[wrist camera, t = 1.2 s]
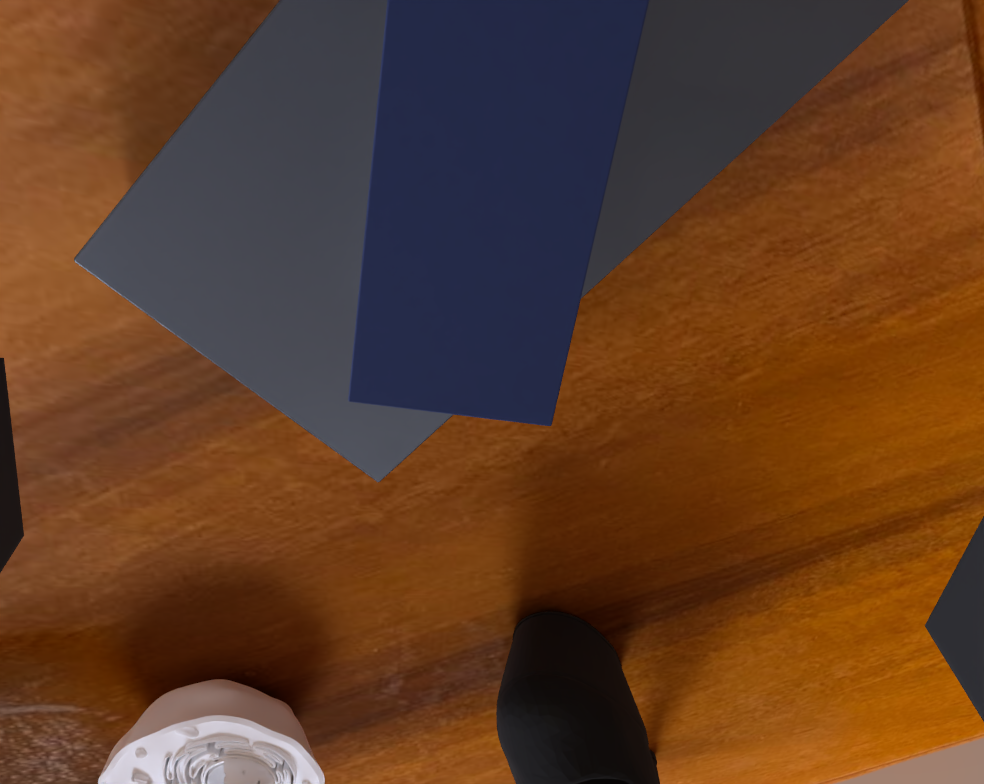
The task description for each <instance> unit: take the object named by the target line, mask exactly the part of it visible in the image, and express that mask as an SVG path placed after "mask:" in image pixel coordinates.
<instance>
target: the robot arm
mask: <svg viewBox="0 0 984 784" xmlns="http://www.w3.org/2000/svg"><path fill="white" fill-rule="evenodd" d="M23 536H24V532H23V523H22V514H21V505H20V496H19V488H18V479H17V470H16V461H15V452H14V443H13V434H12V426H11V417H10V408H9V399H8V390H7V381H6V373H5V364H4V358H0V572H1V571H2V569H3V568H4V566H5V565H6V563H7V561H8V560H9V558H10V557H11V555H12V554H13V552H14V550H15V549H16V547H17V546H18V544H19V543H20V541H21V539H22V538H23ZM925 627H926V629H927V630H928V632H929V633H930V635H931V637H932V638H933V640H934V642H935V643H936V645H937V646H938V648H939V650H940V651H941V653H942V655H943V656H944V658H945V659H946V661H947V663H948V664H949V666H950V668H951V669H952V671H953V672H954V674H955V676H956V677H957V679H958V681H959V682H960V684H961V685H962V687H963V689H964V690H965V692H966V694H967V695H968V697H969V698H970V700H971V702H972V703H973V705H974V707H975V708H976V710H977V711H978V713H979V715H980V716H981V718H982V720H983V721H984V517H983V519H982V521H981V522H980V524H979V526H978V528H977V530H976V532H975V534H974V535H973V537H972V539H971V541H970V543H969V545H968V547H967V548H966V550H965V552H964V554H963V556H962V558H961V560H960V561H959V563H958V565H957V567H956V569H955V571H954V573H953V574H952V576H951V578H950V580H949V582H948V584H947V586H946V587H945V589H944V591H943V593H942V595H941V597H940V598H939V600H938V602H937V604H936V606H935V608H934V610H933V611H932V613H931V615H930V617H929V619H928V621H927V623H926V624H925Z"/></svg>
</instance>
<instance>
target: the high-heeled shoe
mask: <svg viewBox="0 0 984 784" xmlns="http://www.w3.org/2000/svg"><path fill="white" fill-rule="evenodd" d="M496 714H497V730H498V736H499V740H500V743H501V747H502V749H503V751H504V753H505V756H506V758H507V761H508V763H509V766H510V769H511V772H512V774H513V777H514V779H515V782H516V784H660V781H659V776H658V771H657V760H656V757H655V754H654V752H652V751H651V750H649V743H648V738H647V732H646V728H645V726H644V723H643V721H642V718H641V716H640V713H639V711H638V708H637V706H636V703H635V701H634V698H633V696H632V693H631V691H630V688H629V686H628V683H627V681H626V678H625V676H624V673H623V671H622V668H621V664H620V661H619V658H618V655H617V653H616V651H615V649H614V647H613V646H612V645H611V644H610V643H609V642H608V641H607V640H606V639H605V637H604V636H603V635H602V634H601V633H599V632H598V631H597V630H596V629H595V628H594V627H592V626H591V625H590V624H588V623H587V622H585V621H583V620H581V619H579V618H577V617H575V616H572V615H570V614H566V613H563V612H553V611H547V612H539V613H535V614H532V615H529V616H527V617H525V618H523V619H522V620H521V621H520V622H519V623H518V625H517V626H516V628H515V631H514V634H513V642H512V646H511V649H510V653H509V656H508V660H507V663H506V667H505V671H504V674H503V678H502V682H501V686H500V691H499V695H498V700H497V712H496Z"/></svg>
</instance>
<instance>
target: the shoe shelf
mask: <svg viewBox="0 0 984 784" xmlns="http://www.w3.org/2000/svg"><path fill="white" fill-rule="evenodd" d="M907 1H908V0H649V4H648V8H647V12H646V17H645V21H644V25H643V30H642V34H641V39H640V43H639V47H638V52H637V56H636V60H635V65H634V69H633V73H632V78H631V82H630V86H629V91H628V95H627V99H626V104H625V108H624V112H623V117H622V121H621V125H620V130H619V134H618V138H617V143H616V147H615V151H614V156H613V160H612V164H611V169H610V173H609V178H608V182H607V186H606V191H605V195H604V199H603V204H602V208H601V212H600V217H599V221H598V225H597V230H596V234H595V238H594V243H593V247H592V251H591V256H590V260H589V264H588V269H587V273H586V277H585V282H584V286H583V290H582V295H581V298H582V297H583V296H584V295H585V294H587V293H588V292H589V291H590V290H591V289H592V288H593V287H594V286H595V285H596V284H597V283H599V282H600V281H601V280H602V279H603V278H604V277H605V276H606V275H607V274H608V273H610V272H611V271H612V270H613V269H614V268H615V267H616V266H617V265H618V264H619V263H621V262H622V261H623V260H624V259H625V258H626V257H627V256H628V255H629V254H630V253H632V252H633V251H634V250H635V249H636V248H637V247H638V246H639V245H640V244H641V243H643V242H644V241H645V240H646V239H647V238H648V237H649V236H650V235H651V234H652V233H654V232H655V231H656V230H657V229H658V228H659V227H660V226H661V225H662V224H663V223H665V222H666V221H667V220H668V219H669V218H670V217H671V216H672V215H673V214H674V213H676V212H677V211H678V210H679V209H680V208H681V207H682V206H683V205H684V204H685V203H687V202H688V201H689V200H690V199H691V198H692V197H693V196H694V195H695V194H696V193H697V192H699V191H700V190H701V189H702V188H703V187H704V186H705V185H706V184H707V183H708V182H710V181H711V180H712V179H713V178H714V177H715V176H716V175H717V174H718V173H719V172H721V171H722V170H723V169H724V168H725V167H726V166H727V165H728V164H729V163H730V162H732V161H733V160H734V159H735V158H736V157H737V156H738V155H739V154H740V153H741V152H743V151H744V150H745V149H746V148H747V147H748V146H749V145H750V144H751V143H752V142H754V141H755V140H756V139H757V138H758V137H759V136H760V135H761V134H762V133H763V132H765V131H766V130H767V129H768V128H769V127H770V126H771V125H772V124H773V123H774V122H776V121H777V120H778V119H779V118H780V117H781V116H782V115H783V114H784V113H785V112H786V111H788V110H789V109H790V108H791V107H792V106H793V105H794V104H795V103H796V102H797V101H799V100H800V99H801V98H802V97H803V96H804V95H805V94H806V93H807V92H808V91H810V90H811V89H812V88H813V87H814V86H815V85H816V84H817V83H818V82H819V81H821V80H822V79H823V78H824V77H825V76H826V75H827V74H828V73H829V72H830V71H832V70H833V69H834V68H835V67H836V66H837V65H838V64H839V63H840V62H841V61H843V60H844V59H845V58H846V57H847V56H848V55H849V54H850V53H851V52H852V51H854V50H855V49H856V48H857V47H858V46H859V45H860V44H861V43H862V42H863V41H865V40H866V39H867V38H868V37H869V36H870V35H871V34H872V33H873V32H874V31H876V30H877V29H878V28H879V27H880V26H881V25H882V24H883V23H884V22H885V21H886V20H888V19H889V18H890V17H891V16H892V15H893V14H894V13H895V12H896V11H897V10H899V9H900V8H901V7H902V6H903V5H904V4H905V3H906V2H907ZM386 9H387V0H280V1H279V2H278V3H277V5H276V6H275V7H274V8H273V10H272V11H271V12H270V13H269V15H268V16H267V17H266V18H265V20H264V21H263V22H262V23H261V25H260V26H259V27H258V28H257V30H256V31H255V32H254V33H253V35H252V36H251V37H250V38H249V40H248V41H247V42H246V44H245V45H244V46H243V47H242V49H241V50H240V51H239V52H238V54H237V55H236V56H235V57H234V59H233V60H232V61H231V62H230V64H229V65H228V66H227V67H226V69H225V70H224V71H223V72H222V74H221V75H220V76H219V77H218V79H217V80H216V81H215V82H214V84H213V85H212V86H211V87H210V89H209V90H208V91H207V92H206V94H205V95H204V96H203V97H202V99H201V100H200V101H199V102H198V104H197V105H196V106H195V107H194V109H193V110H192V111H191V113H190V114H189V115H188V116H187V118H186V119H185V120H184V121H183V123H182V124H181V125H180V126H179V128H178V129H177V130H176V131H175V133H174V134H173V135H172V136H171V138H170V139H169V140H168V141H167V143H166V144H165V145H164V146H163V148H162V149H161V150H160V151H159V153H158V154H157V155H156V156H155V158H154V159H153V160H152V161H151V163H150V164H149V165H148V166H147V168H146V169H145V170H144V171H143V173H142V174H141V175H140V176H139V178H138V179H137V180H136V182H135V183H134V184H133V185H132V187H131V188H130V189H129V190H128V192H127V193H126V194H125V195H124V197H123V198H122V199H121V200H120V202H119V203H118V204H117V205H116V207H115V208H114V209H113V210H112V212H111V213H110V214H109V215H108V217H107V218H106V219H105V220H104V222H103V223H102V224H101V225H100V227H99V228H98V229H97V230H96V232H95V233H94V234H93V235H92V237H91V238H90V239H89V240H88V242H87V243H86V244H85V245H84V247H83V248H82V249H81V250H80V252H79V253H78V254H77V256H76V257H75V258H74V261H75V262H76V263H77V264H79V265H80V266H81V267H83V268H84V269H86V270H87V271H88V272H90V273H91V274H92V275H94V276H95V277H97V278H98V279H99V280H101V281H102V282H103V283H105V284H106V285H108V286H109V287H110V288H112V289H113V290H114V291H116V292H117V293H119V294H120V295H121V296H123V297H124V298H125V299H127V300H128V301H130V302H131V303H132V304H134V305H135V306H136V307H138V308H139V309H141V310H142V311H143V312H145V313H146V314H147V315H149V316H150V317H152V318H153V319H154V320H156V321H157V322H158V323H160V324H161V325H163V326H164V327H165V328H167V329H168V330H169V331H171V332H172V333H174V334H175V335H176V336H178V337H179V338H180V339H182V340H183V341H185V342H186V343H187V344H189V345H190V346H191V347H193V348H194V349H196V350H197V351H198V352H200V353H201V354H202V355H204V356H205V357H207V358H208V359H209V360H211V361H212V362H213V363H215V364H216V365H218V366H219V367H220V368H222V369H223V370H224V371H226V372H227V373H229V374H230V375H231V376H233V377H234V378H235V379H237V380H238V381H240V382H241V383H242V384H244V385H245V386H246V387H248V388H249V389H251V390H252V391H253V392H255V393H256V394H257V395H259V396H260V397H261V398H263V399H264V400H266V401H267V402H268V403H270V404H271V405H272V406H274V407H275V408H277V409H278V410H279V411H281V412H282V413H283V414H285V415H286V416H288V417H289V418H290V419H292V420H293V421H294V422H296V423H297V424H299V425H300V426H301V427H303V428H304V429H305V430H307V431H308V432H310V433H311V434H312V435H314V436H315V437H316V438H318V439H319V440H321V441H322V442H323V443H325V444H326V445H327V446H329V447H330V448H332V449H333V450H334V451H336V452H337V453H338V454H340V455H341V456H343V457H344V458H345V459H347V460H348V461H349V462H351V463H352V464H354V465H355V466H356V467H358V468H359V469H360V470H362V471H363V472H365V473H366V474H367V475H369V476H370V477H371V478H373V479H374V480H376V481H377V482H380V481H381V480H382V479H383V478H384V477H385V476H387V475H388V474H389V473H390V472H391V471H392V470H393V469H394V468H395V467H396V466H398V465H399V464H400V463H401V462H402V461H403V460H404V459H405V458H406V457H407V456H408V455H410V454H411V453H412V452H413V451H414V450H415V449H416V448H417V447H418V446H419V445H421V444H422V443H423V442H424V441H425V440H426V439H427V438H428V437H429V436H430V435H432V434H433V433H434V432H435V431H436V430H437V429H438V428H439V427H440V426H441V425H443V424H444V423H445V422H446V421H447V420H448V419H449V418H450V417H451V416H452V415H454V414H446V413H438V412H429V411H421V410H413V409H405V408H396V407H388V406H380V405H372V404H363V403H355V402H349V400H348V396H349V386H350V376H351V366H352V355H353V345H354V335H355V325H356V315H357V304H358V294H359V284H360V274H361V264H362V253H363V243H364V233H365V223H366V213H367V202H368V192H369V182H370V172H371V162H372V151H373V141H374V131H375V121H376V111H377V100H378V90H379V80H380V70H381V60H382V49H383V39H384V29H385V19H386Z"/></svg>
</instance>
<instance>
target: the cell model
mask: <svg viewBox="0 0 984 784" xmlns="http://www.w3.org/2000/svg"><path fill="white" fill-rule="evenodd" d="M98 784H325V778H324V774H323V772H322V770H321V768H320V767H319V765H318V763H317V761H316V759H315V757H314V755H313V753H312V751H311V748H310V746H309V743H308V740H307V738H306V735H305V733H304V731H303V728H302V727H301V725H300V723H299V721H298V720H297V718H296V717H295V715H294V714H293V711H292V709H291V708H290V707H289V706H288V705H287V704H286V703H285V702H283V701H281V700H278V699H275V698H272V697H270V696H268V695H266V694H264V693H262V692H260V691H258V690H256V689H254V688H251V687H249V686H246V685H243V684H240V683H236V682H234V681H230V680H224V679H214V680H208V681H204V682H199V683H195V684H191V685H188V686H184V687H181V688H177V689H175V690H172V691H170V692H168V693H166V694H164V695H162V696H161V697H159V698H158V699H157V700H155V701H154V702H153V703H152V704H151V705H150V706H149V707H148V708H147V709H146V711H145V712H144V713H143V714H142V716H141V717H140V718H139V720H138V721H137V723H136V724H135V725H134V726H133V727H132V728H131V729H130V730H129V731H128V732H127V733H126V734H125V735H124V736H123V737H122V738H121V739H120V740H119V741H118V743H117V744H116V745H115V746H114V748H113V750H112V751H111V753H110V755H109V757H108V760H107V762H106V764H105V766H104V769H103V771H102V773H101V775H100V777H99V780H98Z"/></svg>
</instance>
